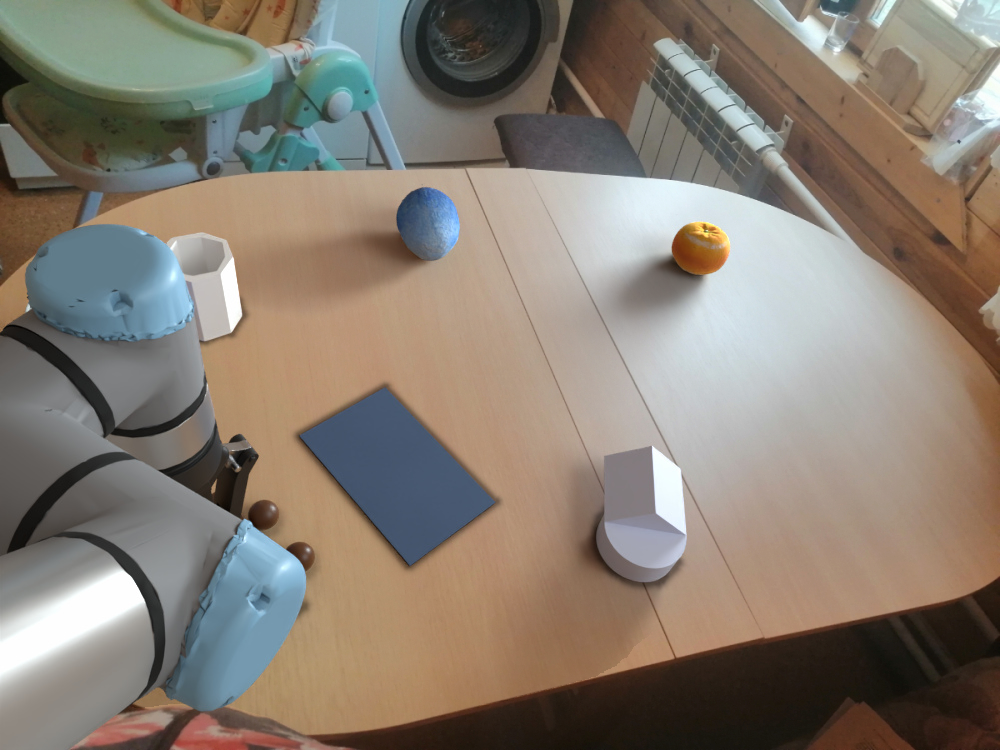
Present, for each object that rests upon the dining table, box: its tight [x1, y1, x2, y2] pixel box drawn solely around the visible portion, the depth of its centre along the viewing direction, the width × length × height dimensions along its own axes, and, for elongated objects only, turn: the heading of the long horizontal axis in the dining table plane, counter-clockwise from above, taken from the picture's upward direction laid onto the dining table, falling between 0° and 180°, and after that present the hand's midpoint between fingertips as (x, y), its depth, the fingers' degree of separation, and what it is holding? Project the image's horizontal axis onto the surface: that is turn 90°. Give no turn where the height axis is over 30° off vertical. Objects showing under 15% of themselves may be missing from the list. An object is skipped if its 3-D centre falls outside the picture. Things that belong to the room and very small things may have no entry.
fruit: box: [671, 221, 731, 276], centre depth 110 cm, size 8×8×8 cm
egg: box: [395, 184, 461, 262], centre depth 103 cm, size 9×9×15 cm
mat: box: [298, 386, 496, 567], centre depth 81 cm, size 12×20×1 cm, turn 43°
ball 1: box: [247, 499, 280, 531], centre depth 73 cm, size 3×3×3 cm
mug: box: [165, 231, 243, 342], centre depth 86 cm, size 12×9×10 cm
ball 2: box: [285, 541, 316, 572], centre depth 71 cm, size 3×3×3 cm
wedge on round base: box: [595, 445, 688, 583], centre depth 78 cm, size 9×7×13 cm
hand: (205, 577), depth 67 cm, fingers closed
